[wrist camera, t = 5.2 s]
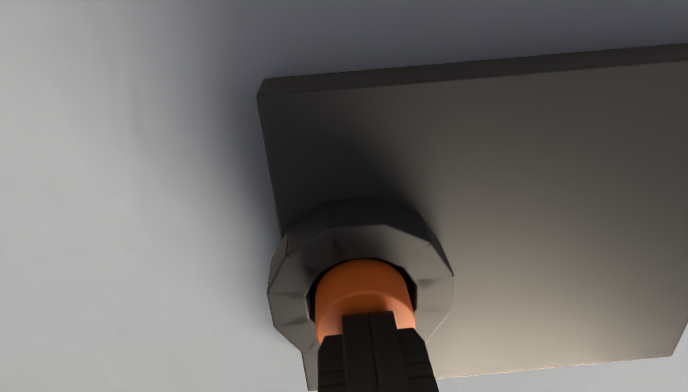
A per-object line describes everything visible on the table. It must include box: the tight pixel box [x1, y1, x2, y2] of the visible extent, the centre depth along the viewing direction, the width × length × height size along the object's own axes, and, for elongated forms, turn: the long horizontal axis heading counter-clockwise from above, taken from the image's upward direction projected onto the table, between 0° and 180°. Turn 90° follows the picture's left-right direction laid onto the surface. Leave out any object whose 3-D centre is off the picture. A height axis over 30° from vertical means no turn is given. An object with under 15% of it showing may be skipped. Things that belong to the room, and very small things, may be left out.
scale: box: [256, 43, 688, 391], centre depth 15 cm, size 16×13×4 cm
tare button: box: [315, 259, 416, 345], centre depth 13 cm, size 3×3×2 cm
